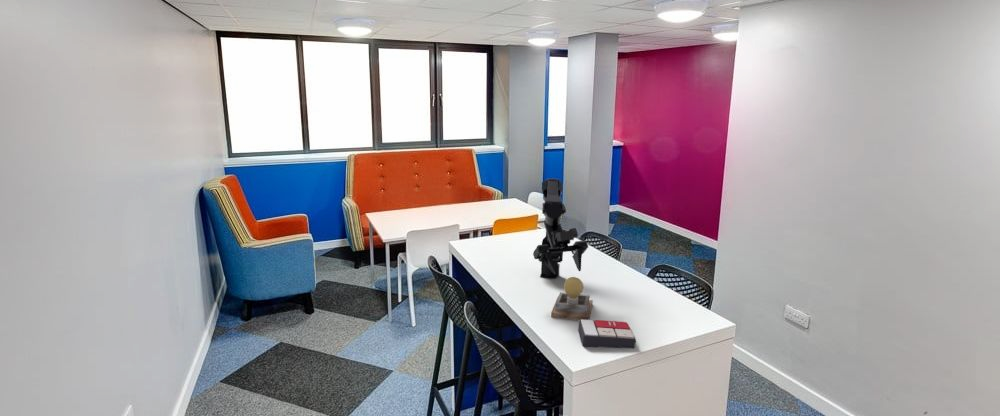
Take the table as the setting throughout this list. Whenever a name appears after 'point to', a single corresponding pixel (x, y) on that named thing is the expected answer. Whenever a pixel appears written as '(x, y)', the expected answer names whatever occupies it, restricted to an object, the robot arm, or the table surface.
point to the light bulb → (573, 289)
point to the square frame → (572, 308)
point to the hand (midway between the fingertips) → (567, 272)
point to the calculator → (606, 334)
